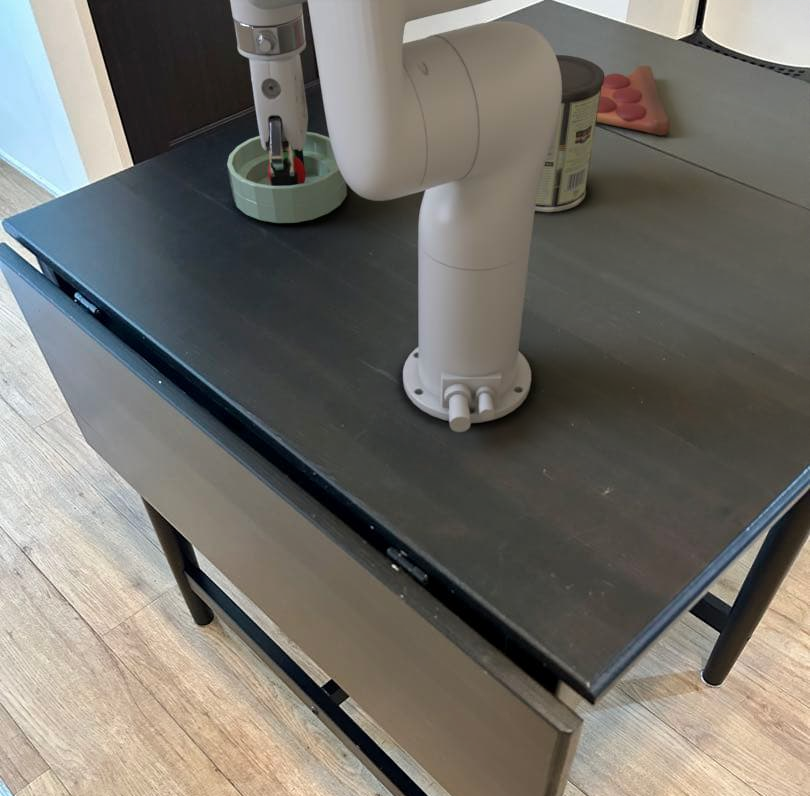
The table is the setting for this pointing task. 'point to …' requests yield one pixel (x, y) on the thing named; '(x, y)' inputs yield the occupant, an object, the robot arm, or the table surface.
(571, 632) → the table surface
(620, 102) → the pizza slice
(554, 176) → the coffee can
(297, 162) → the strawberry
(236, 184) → the bowl
